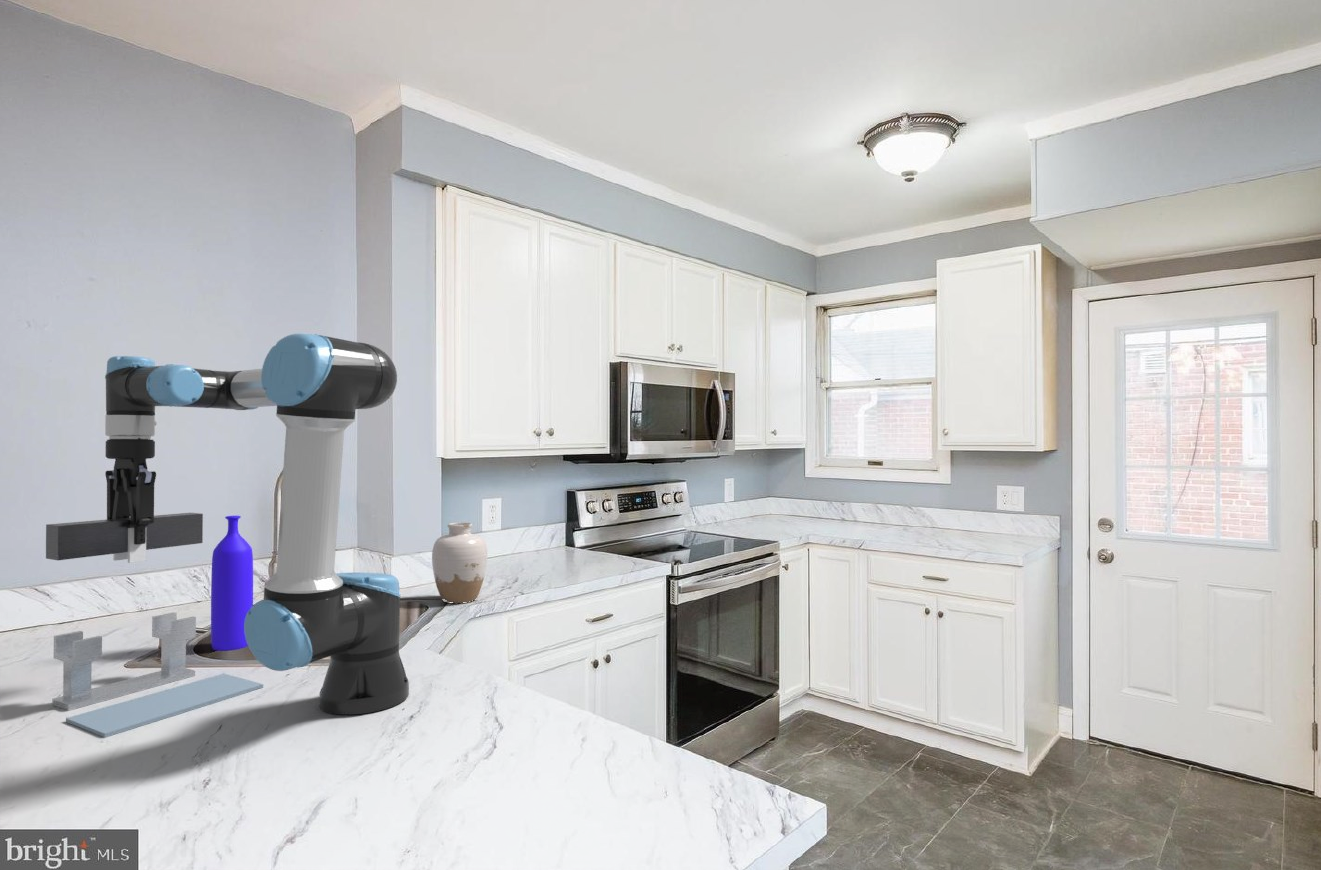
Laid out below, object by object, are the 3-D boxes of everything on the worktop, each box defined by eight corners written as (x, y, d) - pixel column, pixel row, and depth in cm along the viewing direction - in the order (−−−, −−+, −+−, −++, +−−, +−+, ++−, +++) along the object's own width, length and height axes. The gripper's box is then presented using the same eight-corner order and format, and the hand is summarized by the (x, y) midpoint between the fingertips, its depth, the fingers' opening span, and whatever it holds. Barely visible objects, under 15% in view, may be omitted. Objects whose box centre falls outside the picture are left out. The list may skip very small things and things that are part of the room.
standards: (197, 676, 141) (198, 616, 141) (71, 711, 122) (71, 642, 122) (175, 670, 144) (176, 611, 145) (49, 703, 126) (50, 636, 126)
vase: (457, 609, 198) (458, 528, 198) (420, 602, 206) (420, 524, 206) (498, 598, 211) (498, 522, 211) (461, 592, 220) (461, 519, 220)
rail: (190, 541, 145) (190, 512, 145) (202, 542, 143) (202, 513, 143) (45, 558, 124) (46, 524, 124) (57, 560, 122) (58, 525, 122)
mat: (263, 687, 135) (263, 684, 135) (104, 737, 112) (104, 733, 112) (223, 676, 141) (223, 673, 141) (65, 721, 118) (65, 718, 118)
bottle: (233, 652, 157) (234, 518, 157) (201, 650, 158) (202, 517, 159) (261, 642, 165) (262, 514, 165) (230, 640, 166) (232, 513, 167)
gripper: (177, 438, 133) (176, 561, 133) (129, 438, 141) (128, 554, 141) (132, 437, 126) (131, 567, 126) (84, 438, 135) (83, 559, 134)
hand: (129, 560), depth 134 cm, fingers closed on rail, 4 cm apart
